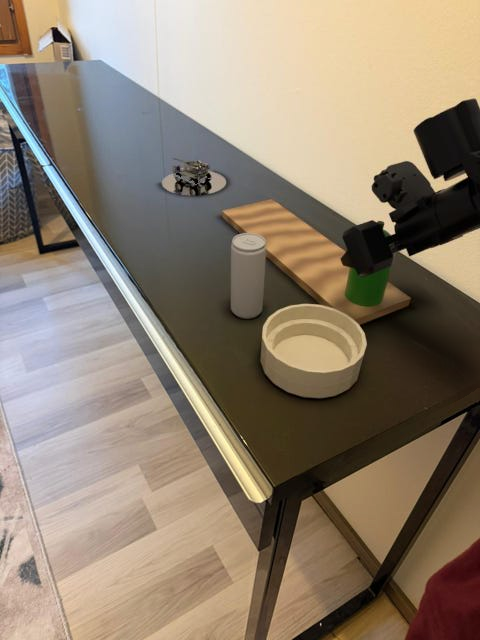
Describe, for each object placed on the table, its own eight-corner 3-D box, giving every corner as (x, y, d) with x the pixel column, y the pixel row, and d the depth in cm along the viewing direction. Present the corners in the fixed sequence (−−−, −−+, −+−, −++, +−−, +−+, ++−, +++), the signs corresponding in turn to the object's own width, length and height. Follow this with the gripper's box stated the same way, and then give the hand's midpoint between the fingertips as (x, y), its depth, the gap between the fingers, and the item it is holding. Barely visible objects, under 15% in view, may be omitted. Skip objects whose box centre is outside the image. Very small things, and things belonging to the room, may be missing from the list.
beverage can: (241, 297, 72) (242, 229, 64) (268, 307, 70) (272, 238, 62) (224, 313, 69) (224, 243, 61) (252, 324, 67) (255, 253, 59)
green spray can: (390, 297, 70) (411, 224, 62) (366, 311, 67) (384, 236, 59) (361, 280, 73) (377, 209, 66) (336, 293, 71) (350, 220, 63)
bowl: (367, 346, 63) (375, 318, 60) (346, 414, 54) (353, 385, 51) (279, 322, 67) (282, 294, 64) (245, 381, 58) (246, 352, 55)
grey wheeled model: (193, 165, 115) (192, 143, 111) (239, 180, 108) (239, 158, 104) (148, 183, 106) (145, 159, 102) (195, 201, 99) (194, 177, 95)
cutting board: (408, 305, 71) (411, 298, 70) (348, 329, 66) (350, 321, 65) (271, 205, 98) (271, 198, 97) (221, 217, 93) (221, 210, 92)
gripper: (475, 135, 57) (388, 188, 71) (369, 163, 49) (294, 217, 63) (508, 218, 57) (415, 255, 71) (408, 259, 49) (325, 292, 63)
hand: (365, 253), depth 67 cm, fingers open, 9 cm apart
